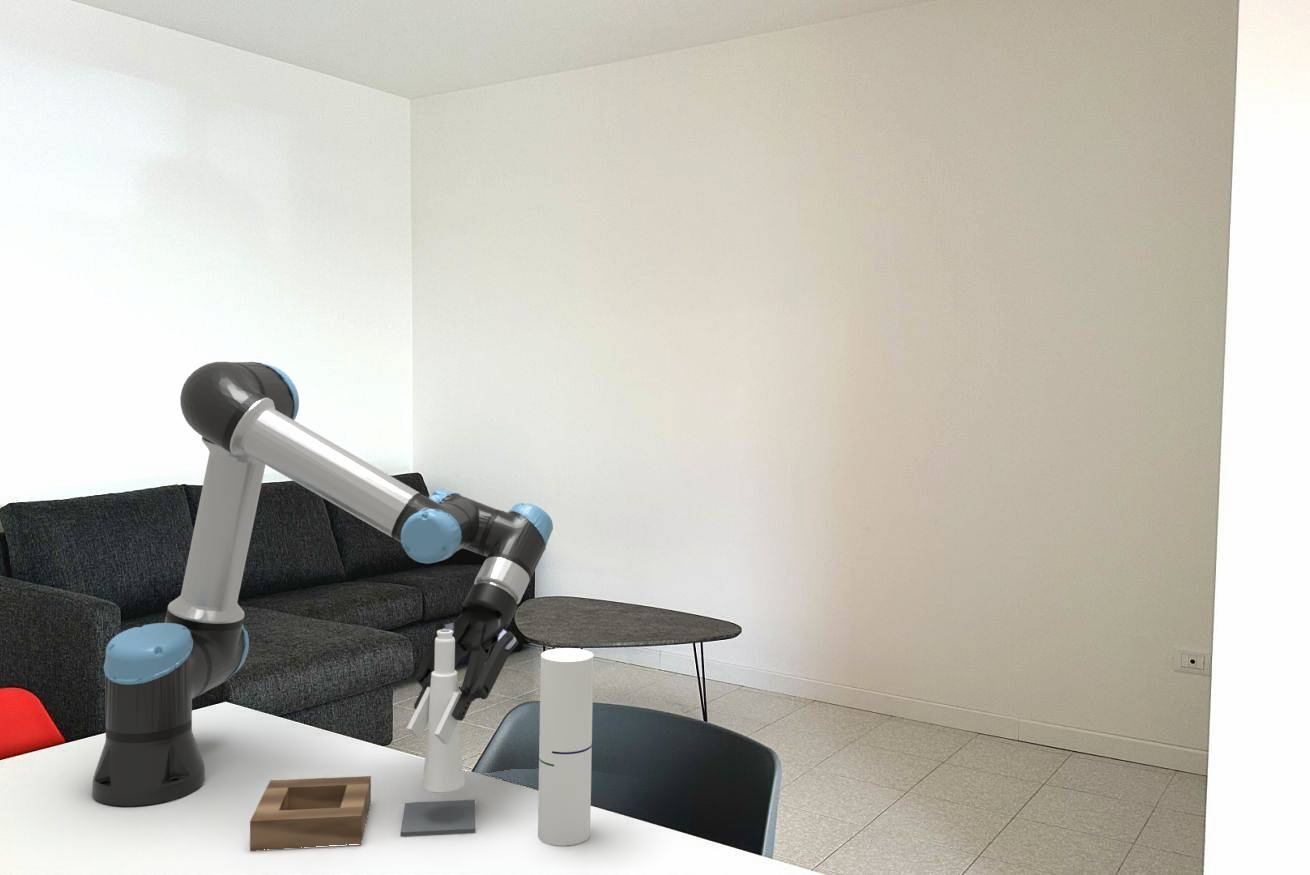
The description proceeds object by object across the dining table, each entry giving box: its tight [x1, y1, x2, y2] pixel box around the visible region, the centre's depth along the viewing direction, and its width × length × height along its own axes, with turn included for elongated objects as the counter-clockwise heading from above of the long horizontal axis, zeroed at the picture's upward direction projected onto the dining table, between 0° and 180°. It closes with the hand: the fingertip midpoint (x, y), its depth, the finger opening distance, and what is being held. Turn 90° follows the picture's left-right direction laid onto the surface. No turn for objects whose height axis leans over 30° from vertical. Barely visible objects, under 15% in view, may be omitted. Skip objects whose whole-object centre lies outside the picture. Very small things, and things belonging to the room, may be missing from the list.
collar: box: [249, 775, 372, 852], centre depth 146 cm, size 14×14×4 cm
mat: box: [399, 799, 476, 837], centre depth 149 cm, size 10×10×1 cm
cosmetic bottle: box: [420, 629, 465, 794], centre depth 148 cm, size 6×6×22 cm
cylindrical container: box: [537, 647, 594, 847], centre depth 144 cm, size 7×7×25 cm
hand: (427, 735), depth 145 cm, fingers closed on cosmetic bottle, 4 cm apart
